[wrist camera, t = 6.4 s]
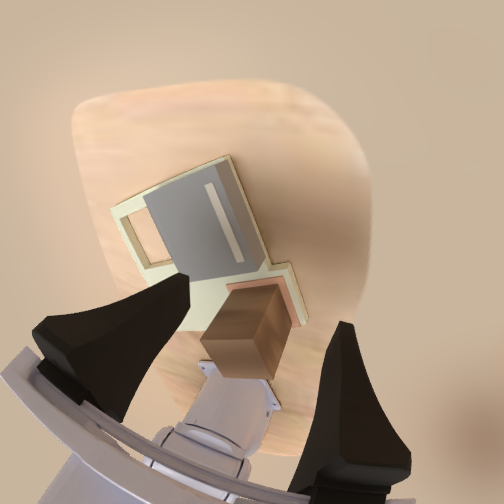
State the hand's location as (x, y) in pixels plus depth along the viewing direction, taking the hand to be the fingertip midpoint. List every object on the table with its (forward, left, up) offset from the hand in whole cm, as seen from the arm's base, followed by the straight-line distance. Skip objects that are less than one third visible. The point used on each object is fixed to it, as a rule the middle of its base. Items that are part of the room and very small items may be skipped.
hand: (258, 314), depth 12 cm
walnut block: (-5, +4, -8) cm, 10 cm away
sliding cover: (+3, +6, -8) cm, 10 cm away
